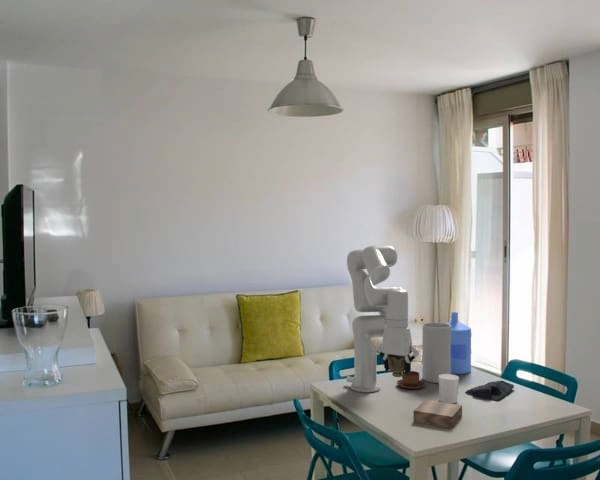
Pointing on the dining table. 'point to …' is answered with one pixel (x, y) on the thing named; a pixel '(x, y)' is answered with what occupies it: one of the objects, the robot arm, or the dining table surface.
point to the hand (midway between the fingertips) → (397, 371)
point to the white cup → (448, 388)
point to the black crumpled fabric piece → (491, 390)
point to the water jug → (460, 346)
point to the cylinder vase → (436, 351)
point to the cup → (396, 364)
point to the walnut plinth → (438, 413)
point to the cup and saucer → (410, 380)
